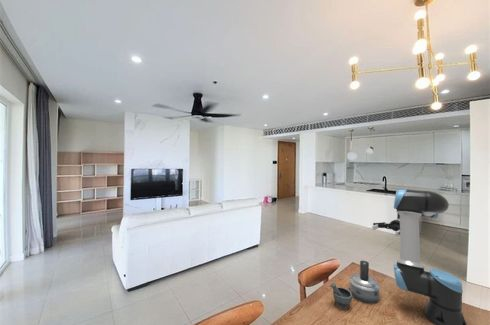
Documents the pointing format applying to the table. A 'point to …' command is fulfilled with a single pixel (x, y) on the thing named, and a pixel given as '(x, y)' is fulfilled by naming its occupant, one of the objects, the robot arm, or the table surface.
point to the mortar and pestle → (341, 296)
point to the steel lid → (364, 276)
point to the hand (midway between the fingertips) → (383, 231)
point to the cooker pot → (364, 292)
